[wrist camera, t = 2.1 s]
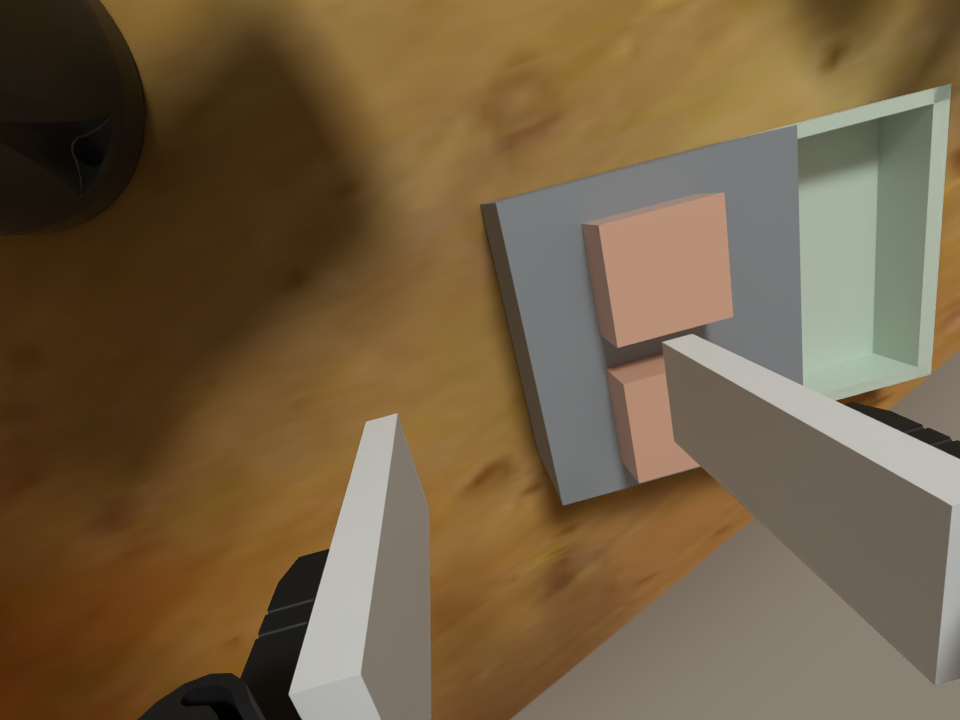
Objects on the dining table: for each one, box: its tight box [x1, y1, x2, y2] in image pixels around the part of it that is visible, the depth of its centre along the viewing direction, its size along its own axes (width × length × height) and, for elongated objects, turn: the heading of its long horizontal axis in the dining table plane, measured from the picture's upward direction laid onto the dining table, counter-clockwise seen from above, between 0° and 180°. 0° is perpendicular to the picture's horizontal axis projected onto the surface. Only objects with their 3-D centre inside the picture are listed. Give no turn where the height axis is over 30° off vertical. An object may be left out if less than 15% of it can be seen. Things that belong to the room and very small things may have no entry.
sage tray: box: [719, 84, 951, 401], centre depth 31 cm, size 18×12×4 cm, turn 14°
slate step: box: [480, 125, 803, 506], centre depth 30 cm, size 18×16×7 cm
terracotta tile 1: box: [582, 192, 733, 348], centre depth 24 cm, size 6×6×2 cm
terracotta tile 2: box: [606, 341, 735, 483], centre depth 26 cm, size 6×6×2 cm
